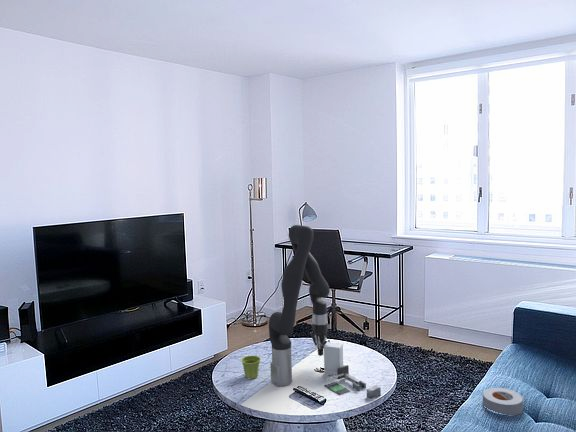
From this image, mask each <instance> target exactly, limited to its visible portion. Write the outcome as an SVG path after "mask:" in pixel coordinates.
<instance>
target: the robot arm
mask: <svg viewBox="0 0 576 432" xmlns="http://www.w3.org/2000/svg"><path fill="white" fill-rule="evenodd" d="M314 234H315V233H314V230H313V228H312V227H310V226H309V225H307V226H306V225H301V224H294V225H292V226H291V227H290V228H289V230H288V234H287V235H288V239H289V241H290V243H291V245H292V247H293V248H294V250H295V254H294V256H293V257H292V259H291V260H290V261H289V262H288V264H287V265H286V267H285V268H284V271H283V275H282V278H281V279H282V280H281V294H282V300H283V304H282V311H275V312H272V314H271V315H270V316H269V320H268V335H269V342H270V344H271V362H270V382H271V383H272V384H273V385H274V386H276V387H286V386H290V385H291V384H292V383H293V372H292V371H293V369H292V368H293V362H292V358H293V357H292V341H291V339H290V338H289V337H288V335H290V334H291V332H292V331H293V329H294V327H295V322H296V313H297V305H298V300H299V296H300V295H299V294H300V291H301V287H302V284H303V278H304V273H305V274H306V277H307V279H308V282H310V285H309V287H308V292H309V298H310V301H311V305H312V317H311V319H312V321H311V322H312V332H313V333H312V334H311V335H310V336H311V339H312V341H313V344H314V346H315V347H316V348H317V356H319V357H322V356H324V345H325V344H326V343H327V342H331V341H330V339H328V338H327V332H328V329H329V327H328V311H327V307H328V306H327V302H326V301H324V300H323V299H326V298H327V297H328V296H329V295H330V291H331V290H330V286H329V283H328V281H327V280H326V279H325V277H324V276H323V275H322V274H323V273H322V271H321V268H320V267H319V266H320V265H319V263H318V261H317V260H316V259H315V257H314V256H313V255H312V254H311V252H310V251H311V248H312V244H313V242H314Z"/></svg>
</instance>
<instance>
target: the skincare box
mask: <svg viewBox="0 0 576 432" xmlns="http://www.w3.org/2000/svg"><path fill="white" fill-rule="evenodd" d="M323 363H324V364H323V365H324V367H323V368H324V371H323V372H324V375H328V376H332V377H333V376H336V375H338V374H337V368H340V367H343V366H344V344H343V343H341V342H340V343H339V342H332V341H330V342H327V343H326V344H325V345H324V348H323Z"/></svg>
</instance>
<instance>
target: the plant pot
mask: <svg viewBox="0 0 576 432" xmlns="http://www.w3.org/2000/svg"><path fill="white" fill-rule="evenodd" d="M240 361H241V364H242V366H243V371H244V372H243V373H244V377H245V378H246V379H248V378H249V380H252V379H253V380H254V379H257V378H258V377H257V376H259V367H260V362H261V357H260V356H257V355H246V356H244V357H242V358H241V360H240Z"/></svg>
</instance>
